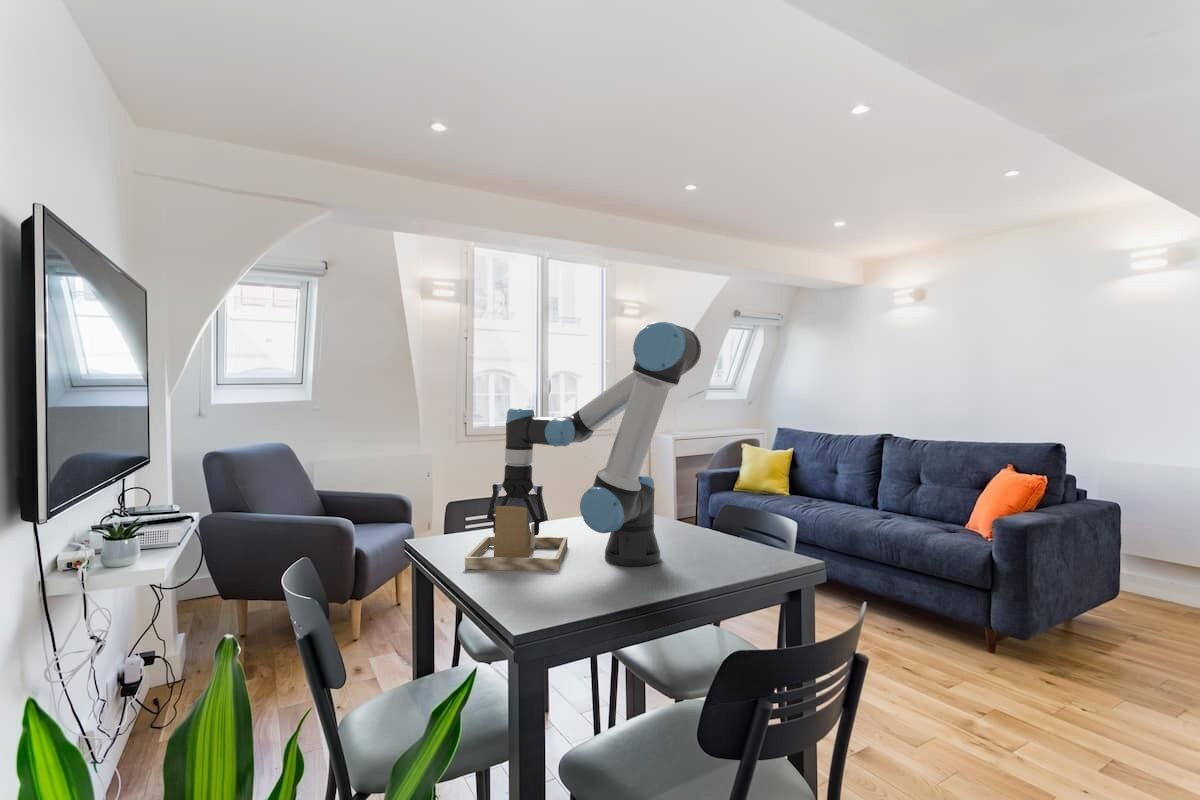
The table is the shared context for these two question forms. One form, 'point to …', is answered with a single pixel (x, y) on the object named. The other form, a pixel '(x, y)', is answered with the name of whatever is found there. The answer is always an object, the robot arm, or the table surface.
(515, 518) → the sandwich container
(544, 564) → the pale wooden box
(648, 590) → the table surface
